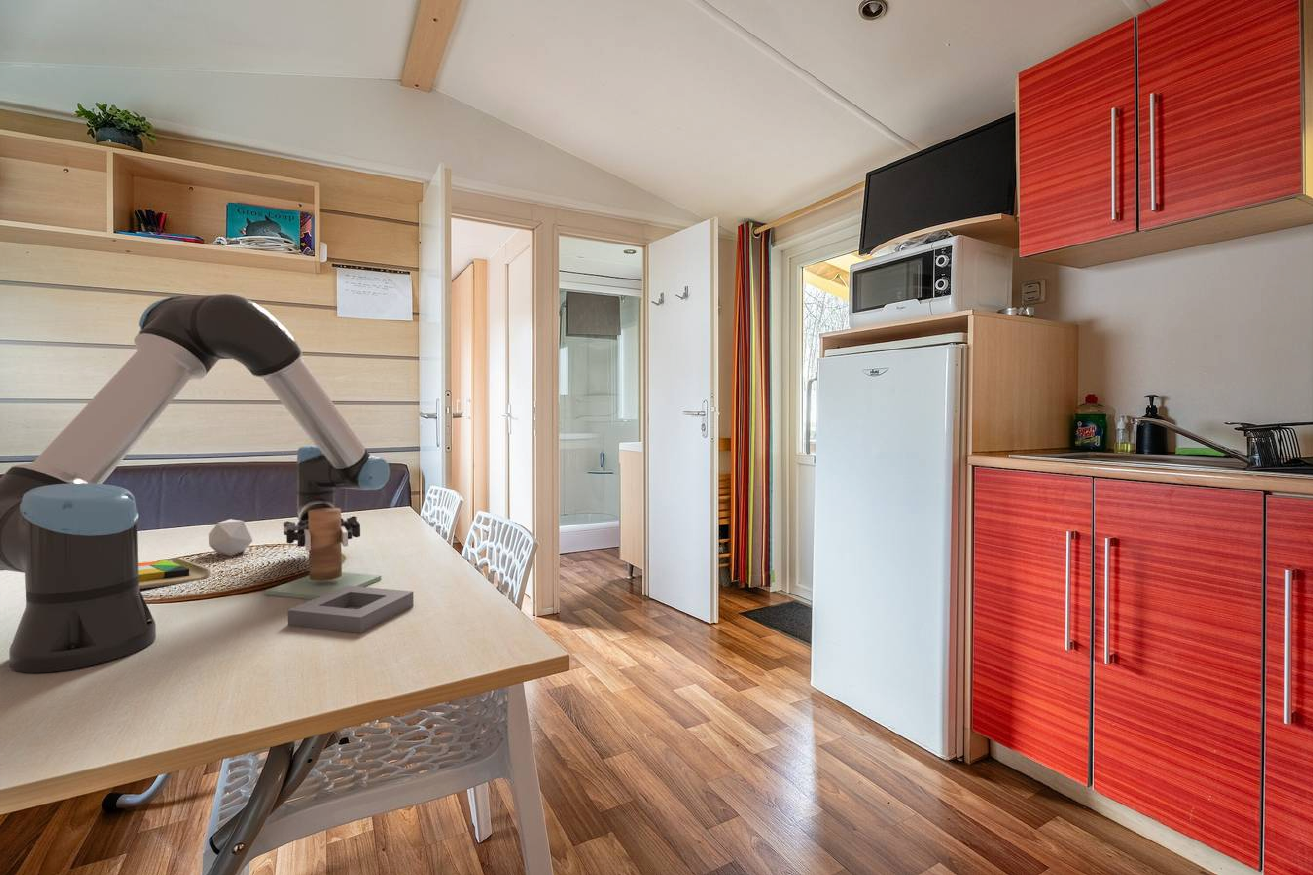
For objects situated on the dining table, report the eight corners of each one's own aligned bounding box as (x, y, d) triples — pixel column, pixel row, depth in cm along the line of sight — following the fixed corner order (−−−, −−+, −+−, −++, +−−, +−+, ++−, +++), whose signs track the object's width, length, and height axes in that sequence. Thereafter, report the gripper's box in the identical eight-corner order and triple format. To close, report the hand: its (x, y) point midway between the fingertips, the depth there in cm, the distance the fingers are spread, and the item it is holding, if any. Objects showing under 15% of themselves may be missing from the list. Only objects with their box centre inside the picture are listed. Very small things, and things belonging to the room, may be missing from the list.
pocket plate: (360, 633, 94) (360, 617, 94) (287, 625, 97) (287, 609, 97) (413, 605, 107) (413, 591, 107) (347, 599, 110) (347, 585, 110)
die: (261, 554, 143) (259, 518, 147) (236, 544, 135) (234, 506, 140) (227, 567, 142) (225, 531, 147) (199, 557, 135) (199, 519, 139)
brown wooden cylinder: (327, 581, 114) (326, 513, 113) (302, 579, 115) (301, 511, 114) (348, 573, 119) (347, 508, 118) (324, 571, 120) (323, 507, 119)
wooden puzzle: (213, 579, 123) (213, 562, 122) (90, 604, 107) (89, 585, 107) (178, 565, 132) (177, 550, 132) (60, 587, 116) (59, 569, 116)
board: (330, 601, 109) (330, 596, 109) (265, 594, 112) (265, 590, 112) (381, 579, 122) (381, 575, 122) (322, 574, 125) (322, 570, 125)
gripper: (365, 532, 137) (381, 554, 117) (269, 541, 127) (268, 567, 107) (365, 499, 136) (380, 516, 117) (268, 506, 126) (268, 526, 107)
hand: (327, 541), depth 112 cm, fingers closed on brown wooden cylinder, 5 cm apart
